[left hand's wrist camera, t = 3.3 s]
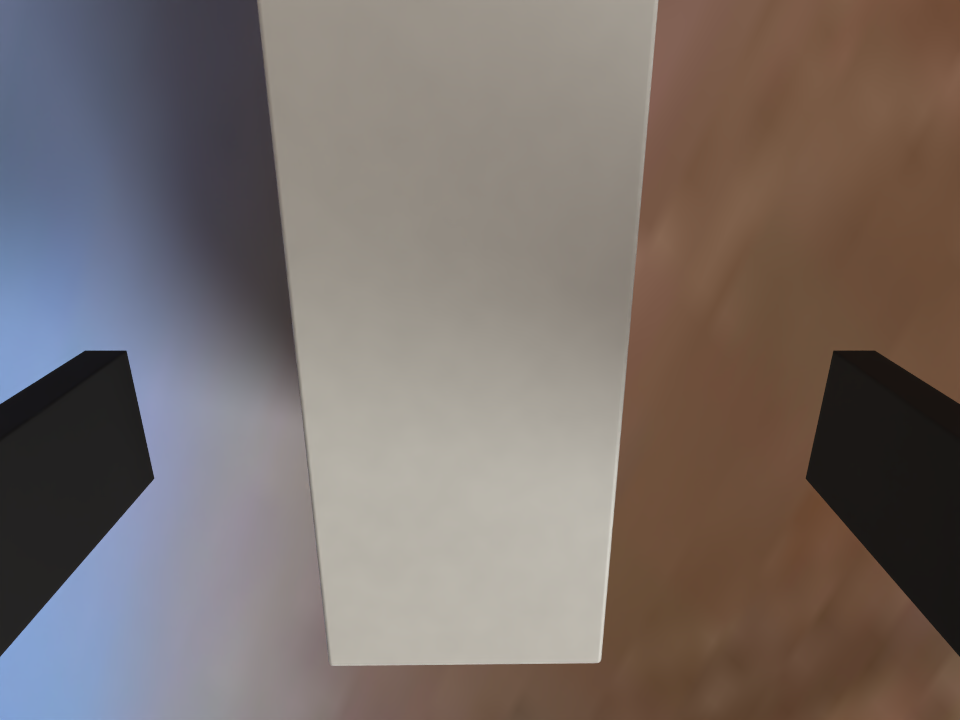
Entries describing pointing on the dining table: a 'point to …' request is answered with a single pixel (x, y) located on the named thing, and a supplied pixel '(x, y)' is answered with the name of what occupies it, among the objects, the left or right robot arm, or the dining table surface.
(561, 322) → the bar
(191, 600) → the dining table surface
